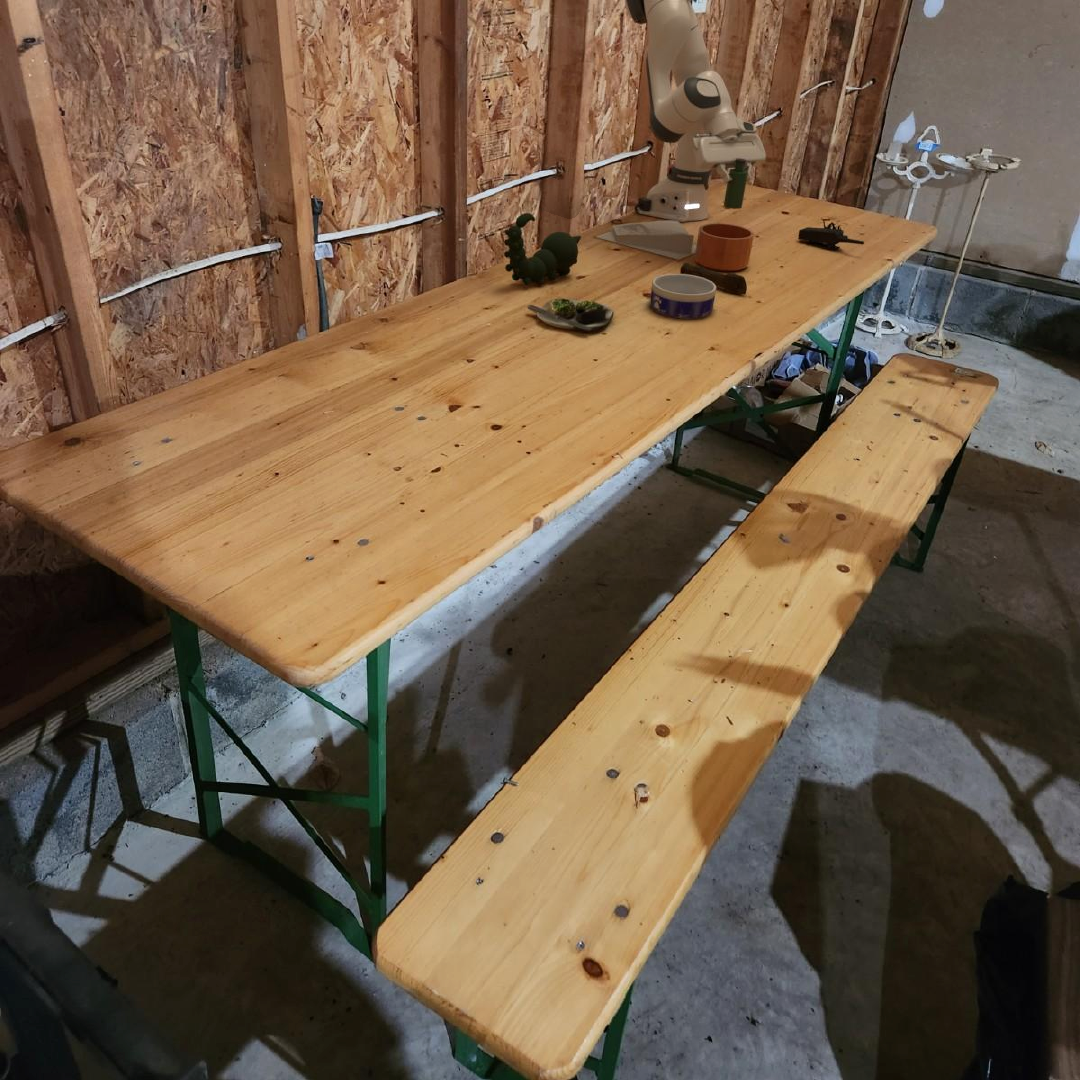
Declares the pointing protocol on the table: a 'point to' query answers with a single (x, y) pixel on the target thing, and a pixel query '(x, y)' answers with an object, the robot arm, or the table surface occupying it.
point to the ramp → (654, 238)
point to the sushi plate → (574, 314)
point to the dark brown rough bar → (718, 278)
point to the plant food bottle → (736, 186)
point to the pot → (724, 246)
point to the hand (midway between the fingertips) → (738, 181)
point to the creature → (832, 225)
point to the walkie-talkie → (825, 237)
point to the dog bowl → (682, 296)
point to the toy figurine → (540, 254)
